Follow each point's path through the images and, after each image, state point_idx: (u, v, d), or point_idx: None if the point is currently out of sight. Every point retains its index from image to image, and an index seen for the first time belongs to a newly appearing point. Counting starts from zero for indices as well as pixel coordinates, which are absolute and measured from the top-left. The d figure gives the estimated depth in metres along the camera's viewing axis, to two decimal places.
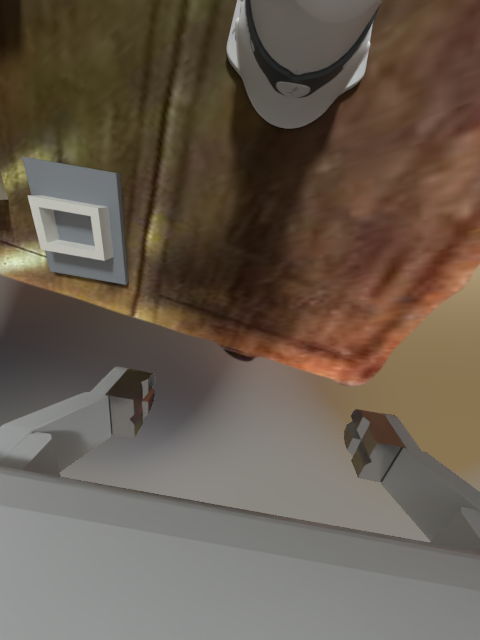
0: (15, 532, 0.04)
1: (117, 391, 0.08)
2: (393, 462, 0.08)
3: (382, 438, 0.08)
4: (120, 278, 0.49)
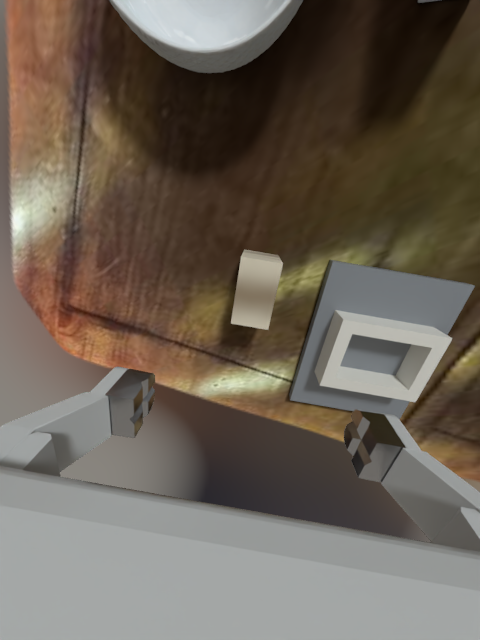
0: (14, 532, 0.04)
1: (117, 391, 0.08)
2: (393, 462, 0.08)
3: (382, 438, 0.08)
4: (395, 411, 0.34)
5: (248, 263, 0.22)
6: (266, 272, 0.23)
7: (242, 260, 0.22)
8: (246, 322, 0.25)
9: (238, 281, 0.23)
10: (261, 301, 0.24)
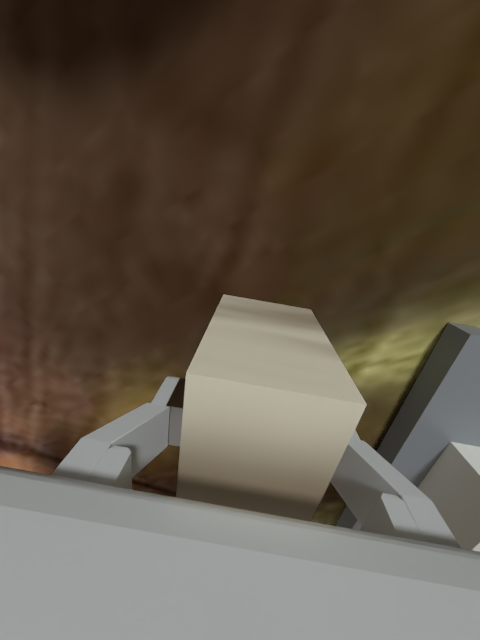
0: (15, 532, 0.04)
1: (176, 401, 0.08)
2: None
3: None
4: None
5: (219, 397, 0.05)
6: (292, 428, 0.06)
7: (193, 387, 0.05)
8: None
9: (185, 449, 0.06)
10: (270, 504, 0.07)
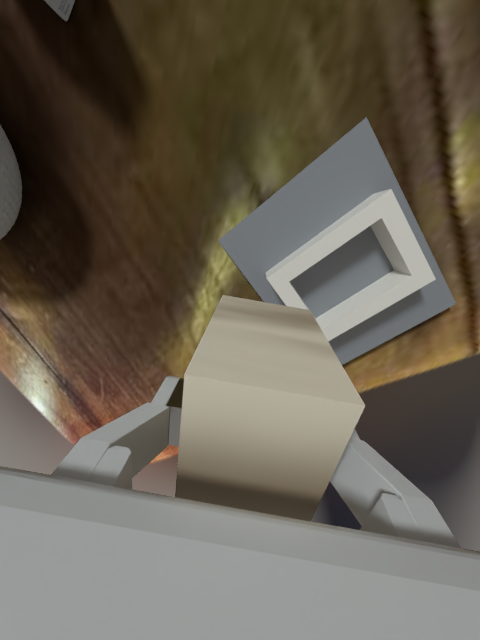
0: (15, 532, 0.04)
1: (176, 401, 0.08)
2: None
3: None
4: (441, 300, 0.25)
5: (217, 398, 0.05)
6: (290, 429, 0.06)
7: (191, 388, 0.05)
8: None
9: (183, 451, 0.06)
10: (269, 505, 0.07)
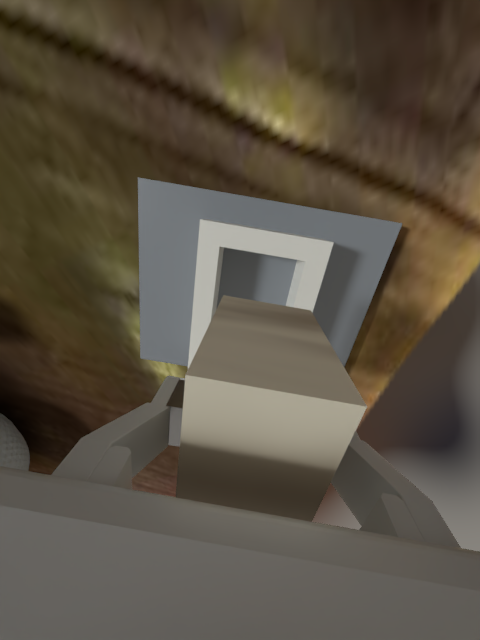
0: (15, 532, 0.04)
1: (176, 401, 0.08)
2: None
3: None
4: (381, 234, 0.18)
5: (218, 398, 0.05)
6: (291, 430, 0.06)
7: (192, 388, 0.05)
8: None
9: (184, 451, 0.06)
10: (269, 506, 0.07)
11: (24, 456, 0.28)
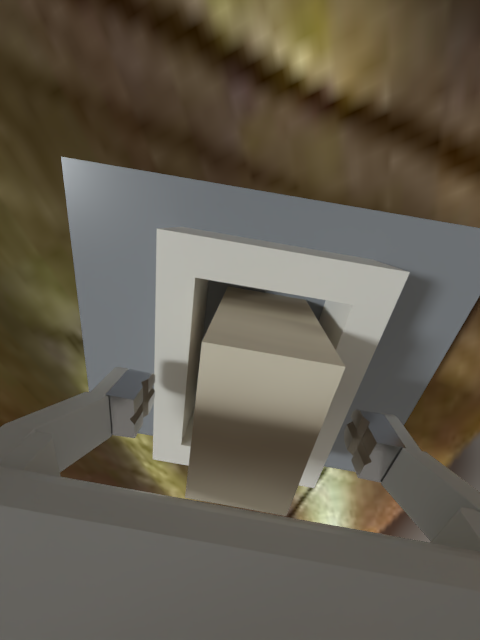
0: (15, 532, 0.04)
1: (117, 391, 0.08)
2: (393, 463, 0.08)
3: (382, 438, 0.08)
4: (475, 253, 0.11)
5: (227, 361, 0.07)
6: (286, 388, 0.07)
7: (207, 353, 0.07)
8: (227, 498, 0.09)
9: (199, 409, 0.07)
10: (269, 457, 0.08)
11: None
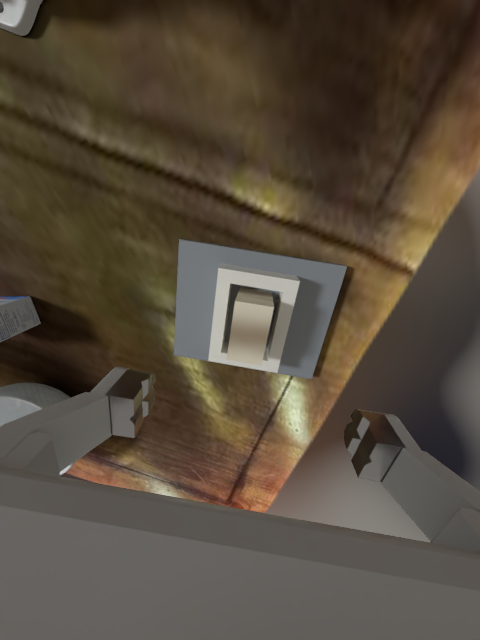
0: (15, 532, 0.04)
1: (117, 391, 0.08)
2: (393, 463, 0.08)
3: (382, 438, 0.08)
4: (334, 273, 0.28)
5: (242, 306, 0.24)
6: (258, 314, 0.24)
7: (236, 304, 0.24)
8: (241, 358, 0.26)
9: (233, 322, 0.25)
10: (254, 340, 0.25)
11: None
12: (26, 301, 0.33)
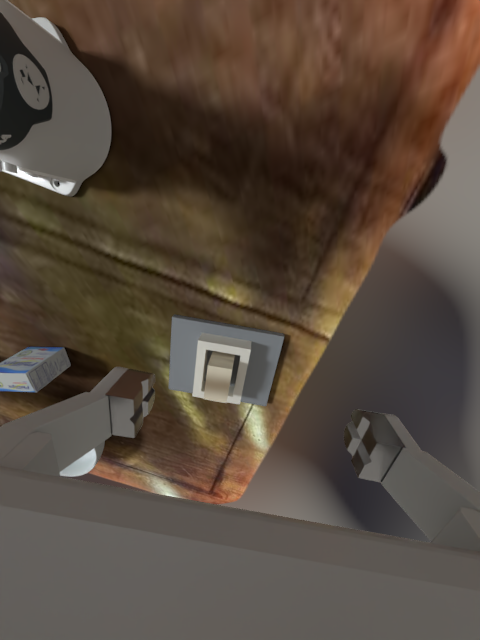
0: (15, 532, 0.04)
1: (117, 391, 0.08)
2: (393, 463, 0.08)
3: (382, 438, 0.08)
4: (276, 340, 0.42)
5: (212, 368, 0.38)
6: (223, 373, 0.38)
7: (208, 367, 0.38)
8: (213, 398, 0.40)
9: (207, 377, 0.39)
10: (221, 388, 0.39)
11: None
12: (62, 351, 0.46)
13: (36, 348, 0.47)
